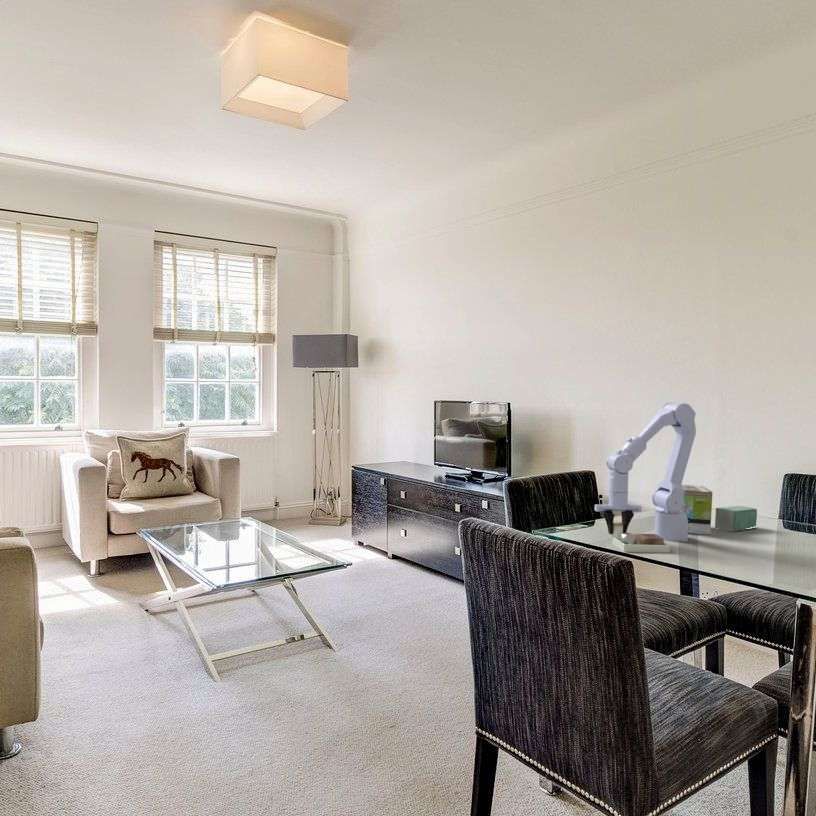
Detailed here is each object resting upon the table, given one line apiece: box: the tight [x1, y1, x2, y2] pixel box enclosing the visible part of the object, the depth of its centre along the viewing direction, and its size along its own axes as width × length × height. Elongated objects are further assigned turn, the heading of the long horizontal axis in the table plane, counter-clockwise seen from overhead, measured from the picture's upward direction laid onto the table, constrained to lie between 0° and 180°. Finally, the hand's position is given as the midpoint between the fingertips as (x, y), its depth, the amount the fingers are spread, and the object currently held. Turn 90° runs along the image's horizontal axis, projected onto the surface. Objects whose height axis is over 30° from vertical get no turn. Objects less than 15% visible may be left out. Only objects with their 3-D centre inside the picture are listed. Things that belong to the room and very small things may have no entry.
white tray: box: [611, 537, 671, 554], centre depth 205 cm, size 14×10×2 cm
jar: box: [610, 521, 624, 540], centre depth 217 cm, size 4×4×5 cm
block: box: [635, 533, 665, 545], centre depth 205 cm, size 6×6×4 cm
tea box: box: [680, 484, 713, 535], centre depth 235 cm, size 15×10×15 cm, turn 168°
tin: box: [621, 532, 637, 545], centre depth 205 cm, size 4×4×4 cm
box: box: [714, 505, 758, 533], centre depth 238 cm, size 7×14×8 cm, turn 121°
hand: (617, 533), depth 217 cm, fingers closed on jar, 4 cm apart
